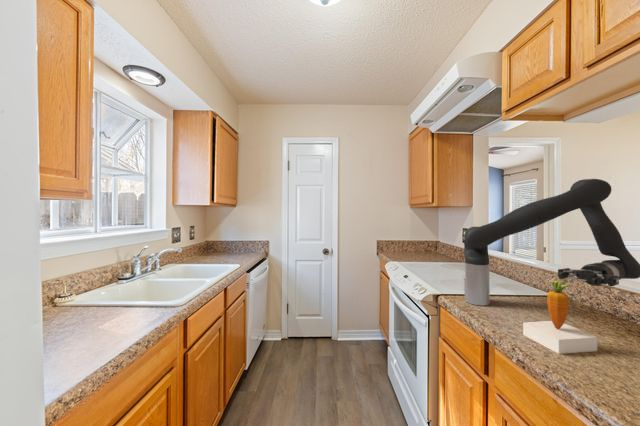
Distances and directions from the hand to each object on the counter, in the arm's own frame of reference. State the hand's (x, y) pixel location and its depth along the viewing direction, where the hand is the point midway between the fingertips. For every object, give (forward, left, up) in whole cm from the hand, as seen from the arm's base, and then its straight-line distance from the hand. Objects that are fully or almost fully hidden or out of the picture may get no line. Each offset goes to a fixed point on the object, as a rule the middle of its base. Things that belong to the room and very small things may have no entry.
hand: (576, 278), depth 90 cm
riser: (+5, -12, -18) cm, 22 cm away
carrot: (+5, -12, -14) cm, 19 cm away
